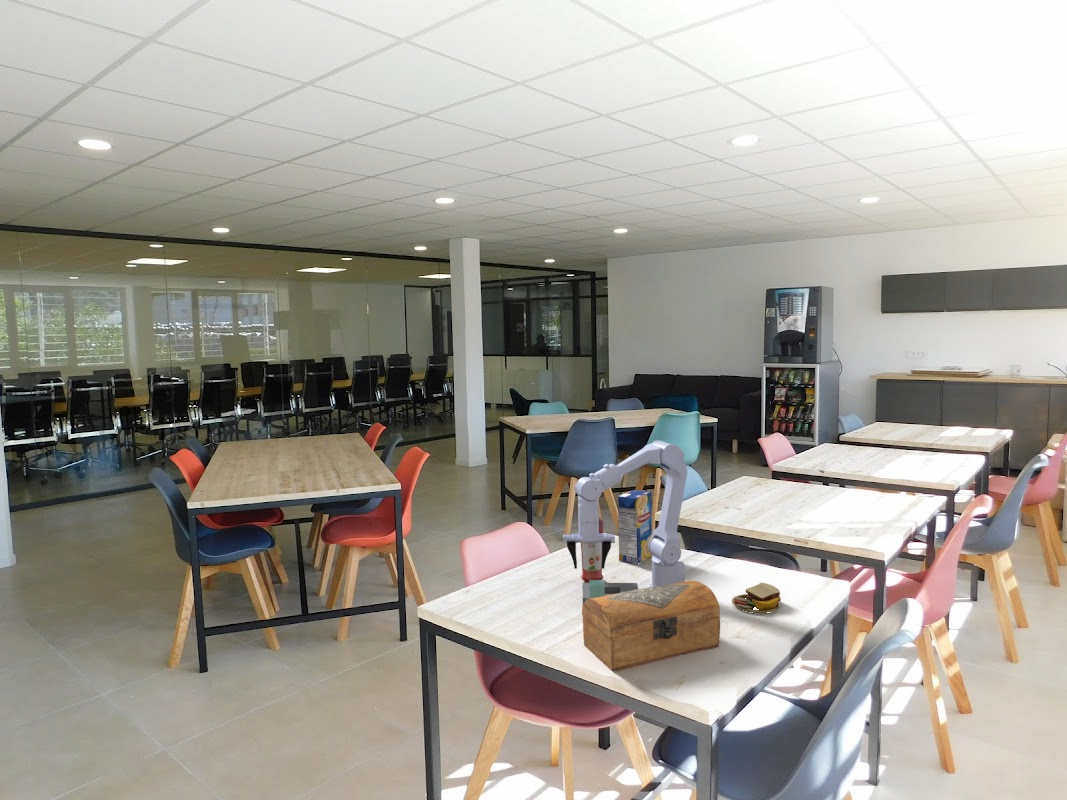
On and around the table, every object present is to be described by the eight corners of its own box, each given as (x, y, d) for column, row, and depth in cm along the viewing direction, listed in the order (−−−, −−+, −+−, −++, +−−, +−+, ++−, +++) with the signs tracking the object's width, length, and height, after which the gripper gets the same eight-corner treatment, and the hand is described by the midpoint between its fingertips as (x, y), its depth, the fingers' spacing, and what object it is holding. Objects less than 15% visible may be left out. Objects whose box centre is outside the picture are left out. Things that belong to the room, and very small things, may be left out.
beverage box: (618, 561, 229) (618, 496, 227) (633, 552, 238) (633, 489, 236) (637, 564, 225) (636, 498, 223) (652, 555, 234) (651, 492, 232)
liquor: (604, 577, 214) (603, 489, 212) (604, 585, 207) (603, 494, 204) (580, 577, 215) (579, 489, 212) (579, 585, 208) (578, 494, 205)
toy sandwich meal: (723, 601, 194) (723, 584, 193) (765, 595, 197) (765, 579, 197) (748, 618, 182) (748, 601, 181) (792, 612, 185) (792, 595, 185)
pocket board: (637, 591, 202) (637, 582, 202) (640, 607, 190) (640, 598, 190) (582, 590, 203) (582, 582, 203) (582, 606, 191) (582, 598, 191)
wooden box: (612, 675, 153) (612, 614, 152) (581, 644, 169) (580, 589, 167) (724, 650, 164) (725, 593, 163) (685, 623, 179) (685, 572, 178)
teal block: (604, 608, 189) (604, 580, 188) (604, 614, 185) (604, 585, 184) (589, 608, 189) (589, 580, 188) (589, 614, 185) (589, 585, 184)
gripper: (613, 516, 196) (614, 562, 198) (563, 516, 197) (563, 562, 199) (615, 523, 189) (615, 571, 191) (562, 523, 190) (563, 571, 192)
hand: (589, 567), depth 194 cm, fingers open, 7 cm apart
